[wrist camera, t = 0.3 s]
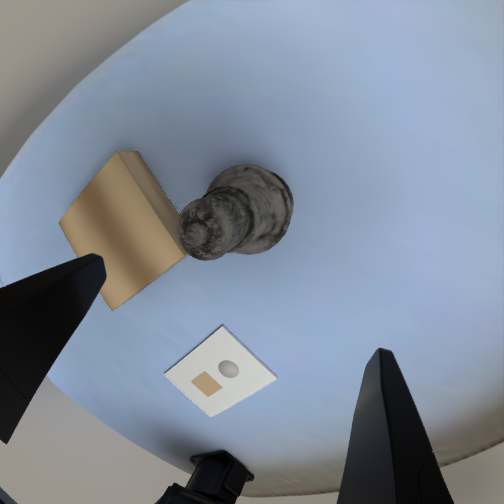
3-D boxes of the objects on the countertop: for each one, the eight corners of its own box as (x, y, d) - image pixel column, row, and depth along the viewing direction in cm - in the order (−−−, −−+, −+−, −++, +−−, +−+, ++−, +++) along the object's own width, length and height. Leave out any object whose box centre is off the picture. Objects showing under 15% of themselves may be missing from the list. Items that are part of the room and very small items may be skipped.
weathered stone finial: (311, 189, 22) (289, 210, 11) (273, 256, 24) (220, 332, 13) (242, 151, 23) (157, 139, 11) (209, 218, 25) (113, 260, 13)
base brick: (130, 299, 29) (111, 311, 26) (78, 217, 28) (58, 222, 25) (200, 246, 25) (184, 255, 23) (137, 151, 25) (116, 151, 22)
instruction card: (212, 415, 30) (210, 418, 30) (164, 373, 30) (163, 375, 30) (277, 376, 27) (277, 379, 27) (223, 324, 27) (221, 326, 26)
